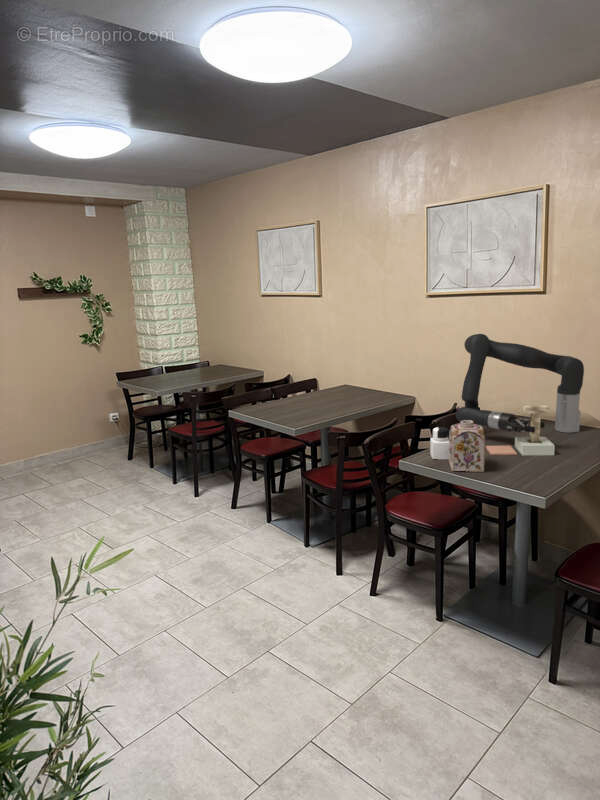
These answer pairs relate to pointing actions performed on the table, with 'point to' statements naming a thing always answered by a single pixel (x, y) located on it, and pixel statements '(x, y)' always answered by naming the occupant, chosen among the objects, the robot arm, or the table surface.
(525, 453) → the socket block
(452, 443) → the decorative jar
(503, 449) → the mat
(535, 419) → the t key
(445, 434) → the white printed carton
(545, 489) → the table surface
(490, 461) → the table surface
